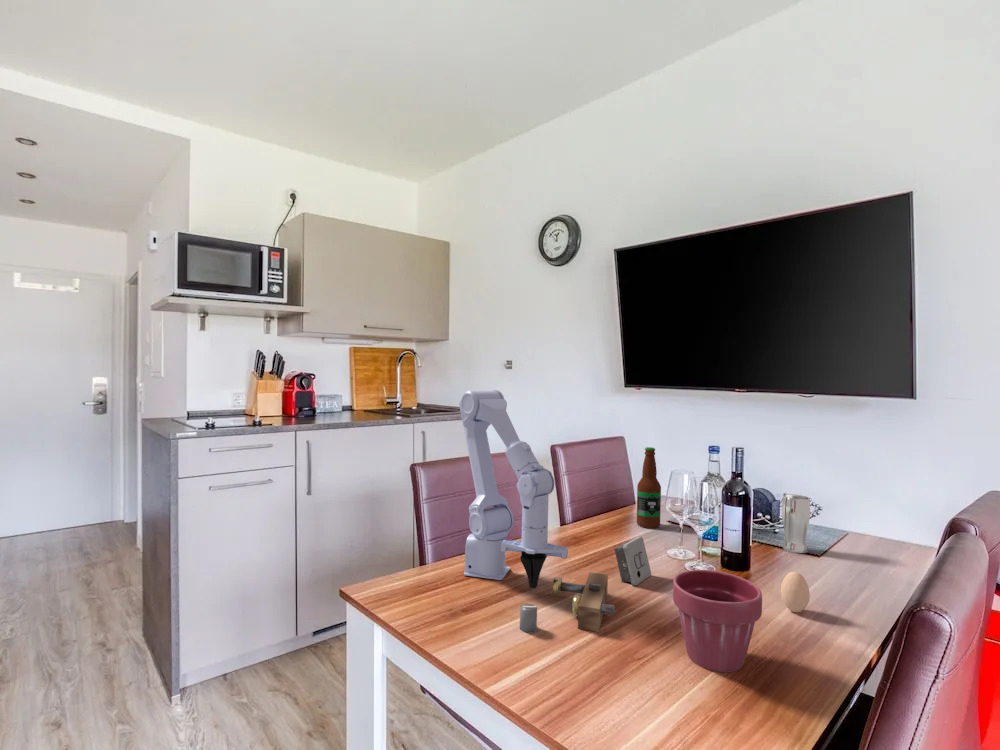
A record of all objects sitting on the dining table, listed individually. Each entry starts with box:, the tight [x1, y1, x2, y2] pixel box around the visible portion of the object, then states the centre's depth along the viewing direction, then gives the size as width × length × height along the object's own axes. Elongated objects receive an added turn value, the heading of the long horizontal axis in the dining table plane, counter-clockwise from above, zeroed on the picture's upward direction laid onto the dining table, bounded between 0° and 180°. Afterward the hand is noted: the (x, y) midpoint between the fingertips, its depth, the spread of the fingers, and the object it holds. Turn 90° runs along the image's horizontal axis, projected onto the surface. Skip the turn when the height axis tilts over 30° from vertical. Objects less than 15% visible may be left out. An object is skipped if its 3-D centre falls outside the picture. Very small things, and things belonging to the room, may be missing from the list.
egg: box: [780, 571, 811, 613], centre depth 111 cm, size 5×5×8 cm
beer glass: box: [781, 493, 811, 554], centre depth 150 cm, size 7×7×15 cm
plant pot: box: [672, 569, 763, 673], centre depth 92 cm, size 14×14×13 cm
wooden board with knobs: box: [577, 571, 609, 633], centre depth 110 cm, size 4×18×5 cm, turn 164°
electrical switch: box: [614, 536, 652, 587], centre depth 127 cm, size 9×5×9 cm, turn 141°
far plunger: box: [552, 576, 585, 596], centre depth 115 cm, size 8×3×3 cm, turn 74°
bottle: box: [636, 447, 662, 530], centre depth 171 cm, size 7×7×25 cm
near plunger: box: [571, 594, 616, 616], centre depth 106 cm, size 8×3×3 cm, turn 74°
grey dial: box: [519, 603, 538, 634], centre depth 101 cm, size 3×3×4 cm
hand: (533, 586), depth 117 cm, fingers closed
